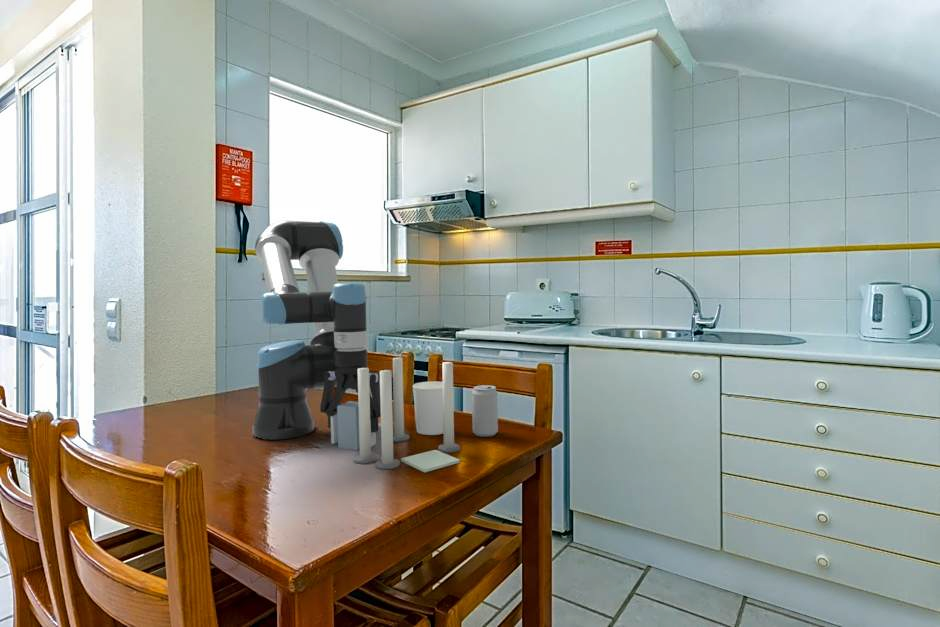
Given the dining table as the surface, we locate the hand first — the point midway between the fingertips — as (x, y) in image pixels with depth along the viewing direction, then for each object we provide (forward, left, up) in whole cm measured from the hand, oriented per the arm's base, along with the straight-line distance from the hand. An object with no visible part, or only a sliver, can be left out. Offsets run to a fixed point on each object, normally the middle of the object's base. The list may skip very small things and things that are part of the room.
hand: (353, 443), depth 123 cm
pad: (+22, -5, 0) cm, 23 cm away
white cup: (+13, +17, -1) cm, 21 cm away
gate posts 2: (+18, -3, 0) cm, 19 cm away
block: (0, 0, -1) cm, 1 cm away
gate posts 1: (+8, 0, 0) cm, 8 cm away
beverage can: (+27, +18, -1) cm, 32 cm away
